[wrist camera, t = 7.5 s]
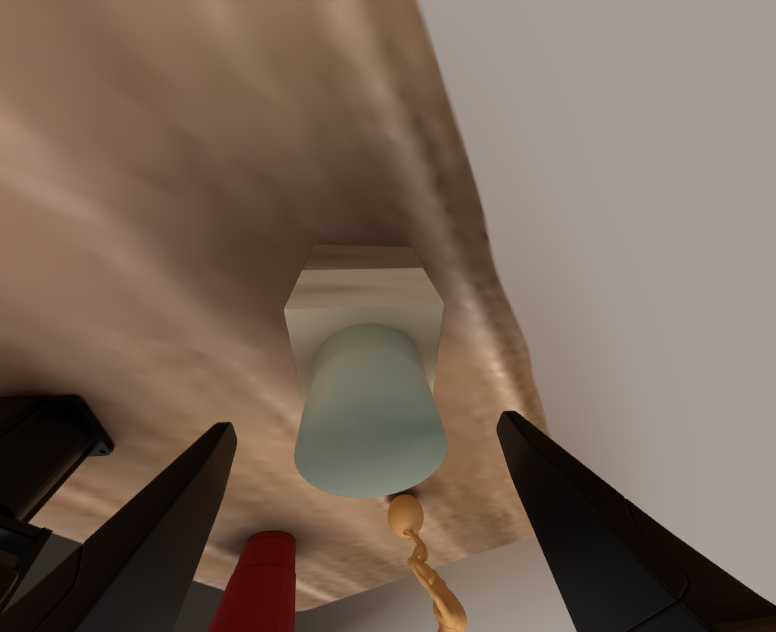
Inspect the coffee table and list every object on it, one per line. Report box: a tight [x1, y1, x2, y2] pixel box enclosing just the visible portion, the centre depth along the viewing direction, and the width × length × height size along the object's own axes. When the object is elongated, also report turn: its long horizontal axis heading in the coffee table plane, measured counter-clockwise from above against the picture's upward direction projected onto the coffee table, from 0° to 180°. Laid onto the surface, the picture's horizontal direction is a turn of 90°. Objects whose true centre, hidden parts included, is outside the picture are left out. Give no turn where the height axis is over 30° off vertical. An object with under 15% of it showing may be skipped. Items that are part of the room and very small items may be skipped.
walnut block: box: [305, 245, 425, 271], centre depth 17 cm, size 6×6×4 cm
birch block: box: [284, 268, 444, 408], centre depth 13 cm, size 6×6×4 cm
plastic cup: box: [207, 532, 296, 632], centre depth 29 cm, size 11×11×12 cm
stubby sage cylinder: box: [294, 323, 447, 498], centre depth 10 cm, size 5×5×4 cm
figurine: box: [388, 494, 467, 632], centre depth 27 cm, size 8×6×12 cm
